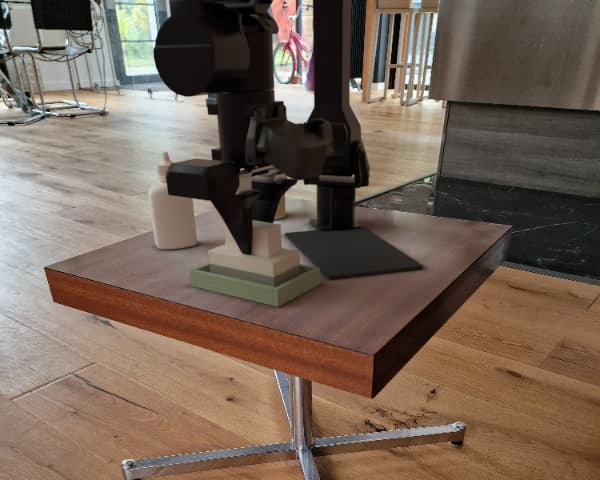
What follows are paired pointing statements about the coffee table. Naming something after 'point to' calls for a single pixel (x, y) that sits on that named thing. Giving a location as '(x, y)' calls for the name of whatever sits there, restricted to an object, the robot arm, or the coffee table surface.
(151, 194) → the eye dropper bottle
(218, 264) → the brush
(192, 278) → the tray
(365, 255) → the mat
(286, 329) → the coffee table surface
